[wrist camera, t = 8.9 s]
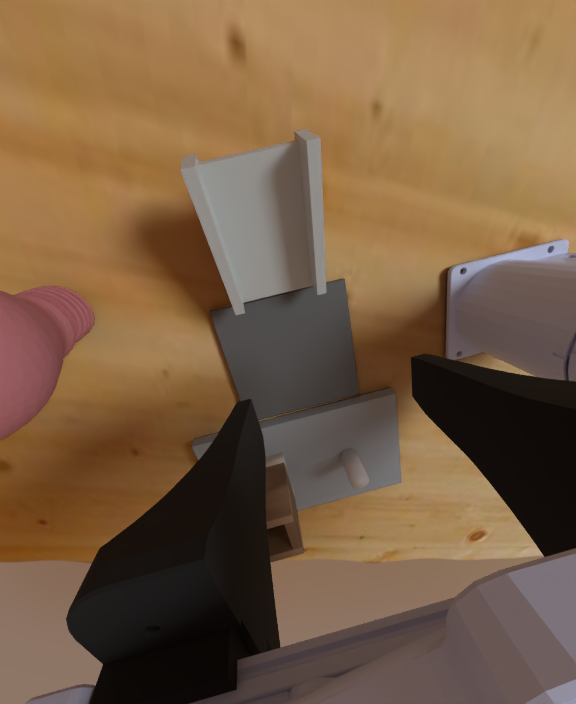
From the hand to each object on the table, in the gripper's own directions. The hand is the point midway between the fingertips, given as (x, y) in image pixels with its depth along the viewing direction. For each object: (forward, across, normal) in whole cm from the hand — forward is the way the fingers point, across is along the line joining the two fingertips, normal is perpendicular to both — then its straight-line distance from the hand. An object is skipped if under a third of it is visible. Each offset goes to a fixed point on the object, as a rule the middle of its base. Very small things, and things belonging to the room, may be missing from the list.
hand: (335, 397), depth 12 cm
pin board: (+10, +2, +13) cm, 16 cm away
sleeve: (+9, +6, +13) cm, 17 cm away
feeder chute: (+10, +1, -7) cm, 12 cm away
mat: (+10, +1, +2) cm, 10 cm away
